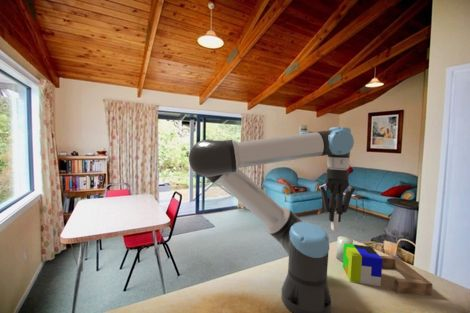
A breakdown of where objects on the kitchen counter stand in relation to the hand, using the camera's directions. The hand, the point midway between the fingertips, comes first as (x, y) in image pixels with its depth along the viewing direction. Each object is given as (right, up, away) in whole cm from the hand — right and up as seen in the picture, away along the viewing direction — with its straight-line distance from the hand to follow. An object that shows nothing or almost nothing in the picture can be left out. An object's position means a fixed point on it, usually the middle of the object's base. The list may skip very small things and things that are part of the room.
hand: (334, 229), depth 84 cm
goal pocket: (+23, -18, 0) cm, 30 cm away
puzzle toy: (+10, -18, 0) cm, 21 cm away
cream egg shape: (+10, -17, +12) cm, 23 cm away
